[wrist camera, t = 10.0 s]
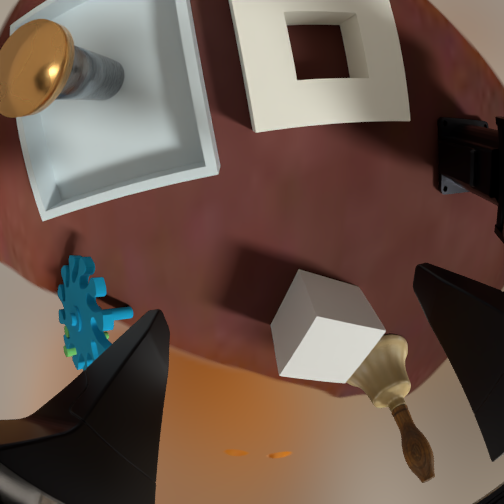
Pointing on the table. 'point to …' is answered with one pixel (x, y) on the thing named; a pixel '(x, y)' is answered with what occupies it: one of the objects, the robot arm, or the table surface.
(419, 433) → the hand bell
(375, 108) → the white square hole block
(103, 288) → the gear
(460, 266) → the table surface
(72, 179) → the parts tray
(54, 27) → the lock pin
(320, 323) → the white cube
